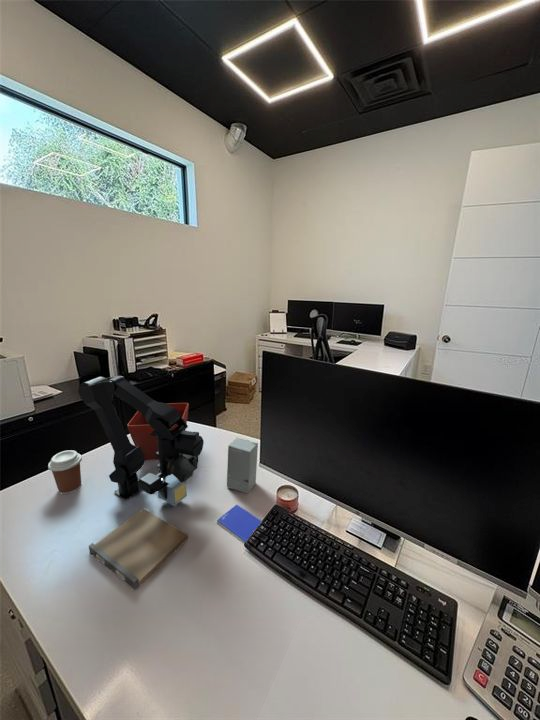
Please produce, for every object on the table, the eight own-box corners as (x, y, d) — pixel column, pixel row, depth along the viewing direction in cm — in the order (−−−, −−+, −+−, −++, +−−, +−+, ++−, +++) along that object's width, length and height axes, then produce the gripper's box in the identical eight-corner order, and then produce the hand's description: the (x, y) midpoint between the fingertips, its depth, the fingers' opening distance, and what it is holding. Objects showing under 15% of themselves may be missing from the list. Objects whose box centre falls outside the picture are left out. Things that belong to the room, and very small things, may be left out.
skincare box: (226, 487, 100) (225, 446, 95) (236, 475, 106) (235, 435, 102) (249, 494, 97) (249, 452, 92) (258, 481, 103) (258, 441, 99)
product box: (158, 497, 92) (156, 481, 90) (171, 488, 96) (169, 472, 95) (174, 506, 89) (173, 489, 87) (187, 496, 93) (185, 479, 91)
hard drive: (216, 519, 85) (248, 543, 78) (237, 503, 91) (268, 524, 84) (217, 524, 86) (248, 548, 78) (237, 507, 92) (268, 528, 84)
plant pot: (146, 439, 128) (142, 403, 124) (191, 437, 130) (189, 402, 126) (131, 466, 110) (126, 425, 105) (184, 464, 112) (181, 423, 107)
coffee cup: (66, 500, 93) (59, 467, 90) (47, 492, 96) (39, 460, 93) (92, 482, 101) (87, 451, 98) (74, 475, 104) (68, 445, 101)
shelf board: (89, 554, 75) (87, 546, 74) (143, 512, 89) (143, 505, 88) (134, 591, 66) (133, 583, 66) (187, 538, 80) (187, 531, 79)
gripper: (161, 475, 76) (166, 524, 80) (210, 442, 92) (212, 485, 96) (134, 461, 82) (139, 508, 86) (184, 432, 97) (187, 473, 101)
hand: (172, 493), depth 92 cm, fingers closed on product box, 5 cm apart
